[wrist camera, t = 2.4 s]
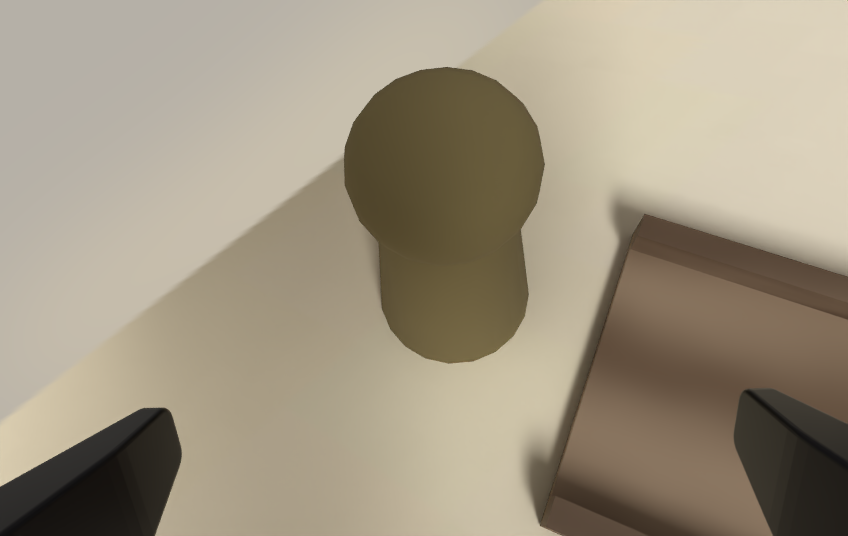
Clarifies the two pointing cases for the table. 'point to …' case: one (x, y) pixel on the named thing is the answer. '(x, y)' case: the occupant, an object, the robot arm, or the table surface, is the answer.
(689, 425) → the channel board
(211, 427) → the table surface
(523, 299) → the olive pawn shaped piece
